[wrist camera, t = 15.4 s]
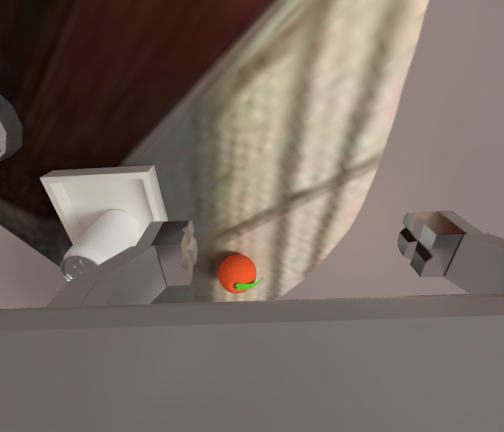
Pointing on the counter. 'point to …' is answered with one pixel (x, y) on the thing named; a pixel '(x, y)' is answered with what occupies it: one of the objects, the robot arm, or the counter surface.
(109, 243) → the can
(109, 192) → the tray
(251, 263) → the clementine
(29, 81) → the counter surface
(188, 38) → the counter surface
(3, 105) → the ring
